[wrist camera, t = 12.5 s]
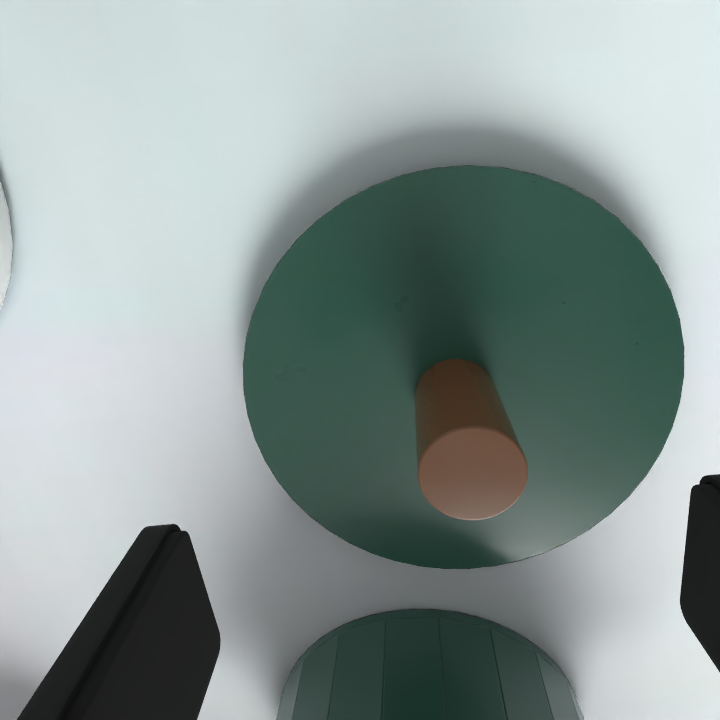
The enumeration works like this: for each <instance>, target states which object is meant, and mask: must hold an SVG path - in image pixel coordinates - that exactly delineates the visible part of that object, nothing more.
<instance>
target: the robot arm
mask: <svg viewBox="0 0 720 720" xmlns="http://www.w3.org/2000/svg"><path fill="white" fill-rule="evenodd" d="M12 252H13V242H12V233H11V224H10V216H9V209H8V206H7V202H6V199H5V195H4V192H3V188H2V185H1V181H0V309H1V307H2V305H3V302H4V299H5V295H6V292H7V288H8V285H9V281H10V278H11V265H12ZM680 605H681V610H682V613H683V616H684V618H685V620H686V622H687V624H688V625H689V627H690V628H691V630H692V631H693V633H694V634H695V636H696V637H697V639H698V640H699V642H700V643H701V645H702V646H703V648H704V649H705V651H706V652H707V654H708V655H709V657H710V658H711V660H712V661H713V663H714V664H715V666H716V667H717V669H718V670H719V672H720V474H718V475H707V476H704V477H702V479H701V480H700V484H699V485H695V486H693V487H692V489H691V495H690V505H689V515H688V525H687V535H686V545H685V555H684V565H683V575H682V585H681V595H680ZM219 651H220V633H219V629H218V626H217V623H216V620H215V616H214V613H213V610H212V607H211V603H210V600H209V597H208V594H207V591H206V587H205V584H204V581H203V578H202V574H201V571H200V568H199V565H198V562H197V558H196V555H195V552H194V549H193V545H192V542H191V539H190V536H189V534H188V533H187V531H181V530H180V528H179V527H178V525H176V524H169V525H158V526H148V527H145V528H144V529H143V530H142V531H141V532H140V534H139V535H138V537H137V538H136V540H135V541H134V543H133V544H132V546H131V547H130V549H129V550H128V552H127V553H126V555H125V556H124V558H123V560H122V561H121V563H120V564H119V566H118V567H117V569H116V570H115V572H114V573H113V575H112V576H111V578H110V579H109V581H108V582H107V584H106V585H105V587H104V588H103V590H102V591H101V593H100V594H99V596H98V597H97V599H96V600H95V602H94V604H93V605H92V607H91V608H90V610H89V611H88V613H87V614H86V616H85V617H84V619H83V620H82V622H81V623H80V625H79V626H78V628H77V629H76V631H75V632H74V634H73V635H72V637H71V638H70V640H69V641H68V643H67V644H66V646H65V647H64V649H63V651H62V652H61V654H60V655H59V657H58V658H57V660H56V661H55V663H54V664H53V666H52V667H51V669H50V670H49V672H48V673H47V675H46V676H45V678H44V679H43V681H42V682H41V684H40V685H39V687H38V688H37V690H36V691H35V693H34V694H33V696H32V698H31V699H30V701H29V702H28V704H27V705H26V707H25V708H24V710H23V711H22V713H21V714H20V716H19V717H18V719H17V720H197V718H198V715H199V712H200V709H201V706H202V703H203V700H204V697H205V694H206V691H207V688H208V685H209V682H210V679H211V676H212V673H213V670H214V667H215V664H216V661H217V658H218V655H219Z"/></svg>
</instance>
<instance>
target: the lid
mask: <svg viewBox="0 0 720 720" xmlns="http://www.w3.org/2000/svg"><path fill="white" fill-rule="evenodd" d="M683 378H684V344H683V337H682V331H681V324H680V318H679V315H678V312H677V309H676V306H675V303H674V299H673V296H672V293H671V291H670V289H669V287H668V285H667V283H666V281H665V279H664V277H663V275H662V273H661V271H660V269H659V267H658V265H657V263H656V262H655V261H654V259H653V258H652V256H651V255H650V254H649V252H648V251H647V249H646V248H645V247H644V245H643V244H642V242H641V241H640V240H639V239H638V238H637V237H636V236H635V235H634V234H633V233H632V232H631V231H630V230H629V229H628V228H627V227H626V226H625V225H624V224H623V223H622V222H621V221H620V220H619V219H618V218H617V217H616V216H614V215H613V214H612V213H610V212H609V211H608V210H606V209H605V208H604V207H602V206H601V205H600V204H598V203H597V202H596V201H594V200H593V199H591V198H589V197H587V196H585V195H583V194H581V193H580V192H578V191H576V190H574V189H572V188H570V187H568V186H566V185H564V184H561V183H559V182H556V181H553V180H550V179H548V178H545V177H542V176H539V175H536V174H533V173H528V172H523V171H518V170H513V169H509V168H504V167H492V166H475V165H463V166H450V167H437V168H431V169H427V170H422V171H418V172H413V173H408V174H404V175H401V176H398V177H395V178H392V179H390V180H387V181H384V182H381V183H379V184H376V185H373V186H371V187H369V188H367V189H365V190H364V191H362V192H360V193H358V194H356V195H354V196H352V197H350V198H348V199H346V200H345V201H343V202H342V203H340V204H339V205H337V206H336V207H335V208H333V209H332V210H330V211H329V212H328V213H326V214H325V215H323V216H322V217H321V218H319V219H318V220H317V221H316V222H315V223H314V224H313V225H312V226H311V227H310V228H309V229H307V230H306V231H305V232H304V233H303V234H302V235H301V236H300V237H299V238H298V239H297V240H296V241H295V242H294V244H293V245H292V246H291V247H290V249H289V250H288V251H287V252H286V254H285V255H284V256H283V257H282V259H281V260H280V261H279V262H278V264H277V266H276V267H275V269H274V271H273V272H272V274H271V276H270V277H269V279H268V281H267V282H266V284H265V286H264V288H263V290H262V292H261V295H260V297H259V299H258V302H257V304H256V307H255V309H254V311H253V314H252V318H251V322H250V326H249V330H248V333H247V337H246V344H245V352H244V361H243V385H244V395H245V402H246V408H247V414H248V418H249V421H250V424H251V428H252V431H253V434H254V437H255V440H256V442H257V444H258V447H259V449H260V451H261V453H262V455H263V458H264V460H265V462H266V463H267V465H268V466H269V468H270V470H271V471H272V473H273V474H274V476H275V478H276V479H277V481H278V482H279V483H280V485H281V486H282V487H283V488H284V490H285V491H286V492H287V493H288V495H289V496H290V497H291V498H292V499H293V501H295V502H296V503H297V504H298V505H299V506H300V507H301V508H302V509H303V510H304V511H305V512H306V513H307V514H308V515H309V516H310V517H311V518H313V519H314V520H315V521H317V522H318V523H319V524H321V525H322V526H323V527H325V528H326V529H327V530H328V531H330V532H332V533H333V534H335V535H337V536H338V537H340V538H342V539H343V540H345V541H347V542H348V543H350V544H352V545H355V546H357V547H359V548H361V549H364V550H366V551H368V552H370V553H372V554H375V555H379V556H382V557H385V558H388V559H391V560H394V561H398V562H402V563H407V564H412V565H417V566H423V567H433V568H442V569H471V568H481V567H491V566H497V565H502V564H507V563H511V562H516V561H520V560H523V559H527V558H530V557H533V556H536V555H539V554H542V553H545V552H547V551H549V550H551V549H554V548H556V547H558V546H560V545H563V544H565V543H567V542H569V541H571V540H572V539H574V538H576V537H577V536H579V535H581V534H583V533H584V532H586V531H588V530H589V529H591V528H592V527H593V526H595V525H596V524H597V523H599V522H600V521H601V520H603V519H604V518H605V517H607V516H608V515H609V514H611V513H612V512H613V511H614V510H615V509H616V508H617V507H618V506H619V505H620V504H621V503H622V502H623V501H624V500H626V499H627V498H628V497H629V496H630V495H631V493H632V492H633V491H634V490H635V489H636V487H637V486H638V485H639V484H640V482H641V481H642V480H643V479H644V478H645V476H646V475H647V474H648V472H649V470H650V469H651V467H652V466H653V464H654V463H655V461H656V459H657V458H658V456H659V455H660V453H661V451H662V449H663V447H664V445H665V442H666V440H667V438H668V436H669V434H670V432H671V429H672V427H673V423H674V420H675V417H676V413H677V410H678V407H679V404H680V398H681V392H682V385H683Z"/></svg>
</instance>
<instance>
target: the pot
mask: <svg viewBox="0 0 720 720" xmlns="http://www.w3.org/2000/svg"><path fill="white" fill-rule="evenodd" d="M276 720H584V717H583V714H582V712H581V710H580V708H579V706H578V703H577V701H576V698H575V695H574V692H573V690H572V688H571V686H570V684H569V682H568V680H567V678H566V677H565V676H564V674H563V673H562V671H561V670H560V669H559V667H558V666H557V665H556V664H555V663H554V662H553V661H552V660H551V658H550V657H549V656H548V655H547V654H546V653H545V652H543V651H542V650H541V649H540V648H538V647H537V646H536V645H534V644H533V643H532V642H531V641H529V640H527V639H526V638H524V637H522V636H521V635H519V634H517V633H516V632H514V631H512V630H510V629H508V628H505V627H503V626H501V625H499V624H496V623H494V622H491V621H488V620H485V619H482V618H479V617H476V616H471V615H467V614H462V613H457V612H451V611H442V610H431V609H410V610H399V611H390V612H385V613H380V614H375V615H370V616H367V617H364V618H361V619H358V620H355V621H352V622H350V623H347V624H345V625H343V626H341V627H339V628H337V629H335V630H333V631H332V632H330V633H328V634H327V635H325V636H323V637H322V638H320V639H319V640H318V641H317V642H316V643H314V644H313V645H312V646H311V647H310V648H309V649H308V650H307V651H306V652H305V653H304V654H303V655H302V656H301V658H300V659H299V660H298V661H297V663H296V665H295V666H294V668H293V669H292V671H291V673H290V675H289V677H288V680H287V682H286V685H285V686H284V689H283V693H282V697H281V702H280V706H279V710H278V715H277V719H276Z"/></svg>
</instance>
